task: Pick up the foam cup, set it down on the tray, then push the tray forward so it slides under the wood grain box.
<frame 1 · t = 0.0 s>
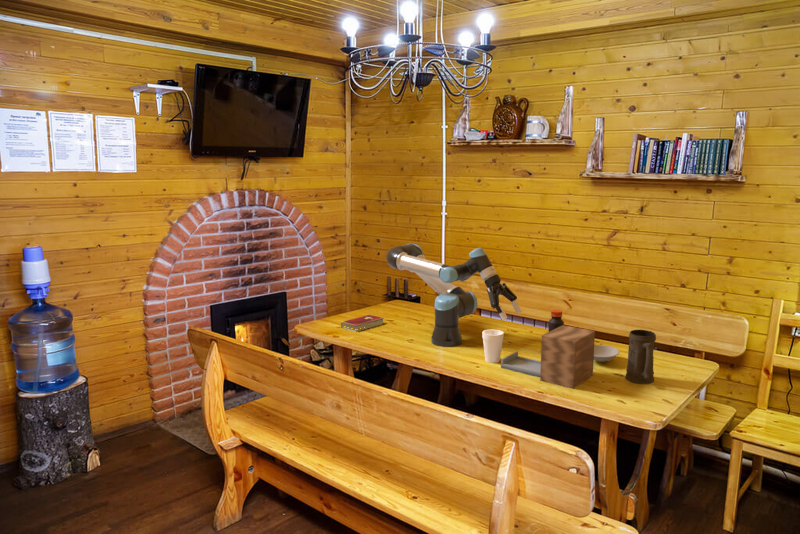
hand: (512, 316, 275), 15 cm above the table, tool tilted 35°, fingers open, 13 cm apart
wood grain box: (566, 377, 236), on the table
hardcover book: (362, 327, 316), on the table
foam cup: (492, 360, 259), on the table
bottle: (555, 353, 268), on the table
beer stein: (642, 381, 232), on the table
dish: (601, 361, 256), on the table
tray: (529, 364, 247), point 2 cm above the table, slide at 0.0 cm
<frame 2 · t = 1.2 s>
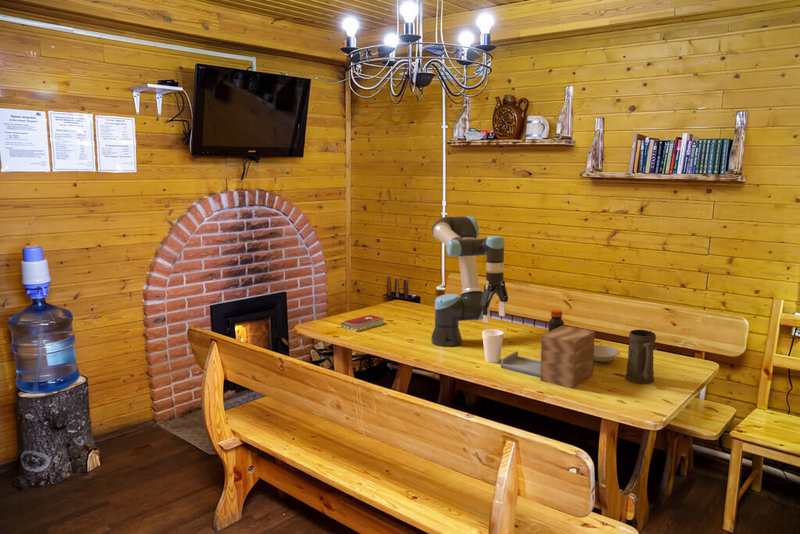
hand: (494, 319, 256), 19 cm above the table, tool pointing down, fingers open, 13 cm apart
nothing on the table moved.
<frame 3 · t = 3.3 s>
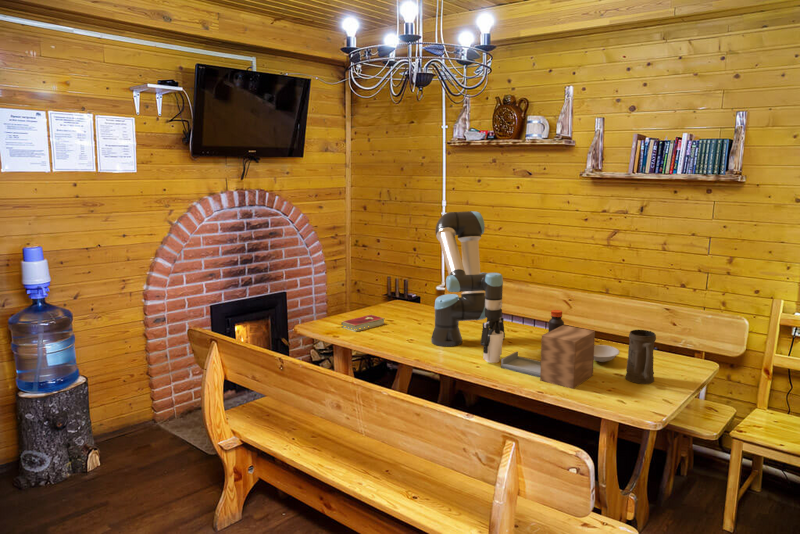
hand: (492, 356, 258), 2 cm above the table, tool pointing down, fingers closed on foam cup, 9 cm apart
foam cup: (492, 360, 259), on the table, touching gripper
everything else where it was.
when the fingers open (4 cm above the table, at t = 8.5 s): foam cup drops 1 cm, resting on tray.
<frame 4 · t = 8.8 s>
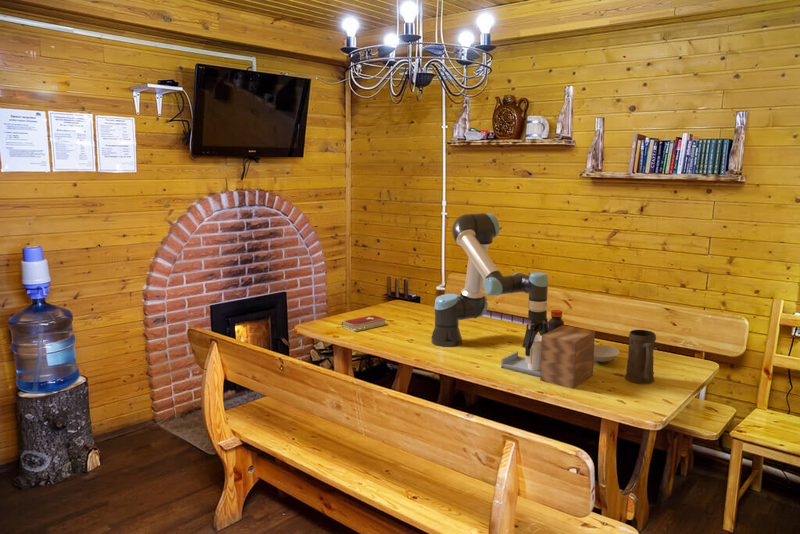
hand: (536, 358, 245), 5 cm above the table, tool pointing down, fingers open, 13 cm apart
foam cup: (535, 368, 245), point 1 cm above the table, touching tray
tray: (529, 364, 247), point 2 cm above the table, slide at 0.1 cm, touching foam cup
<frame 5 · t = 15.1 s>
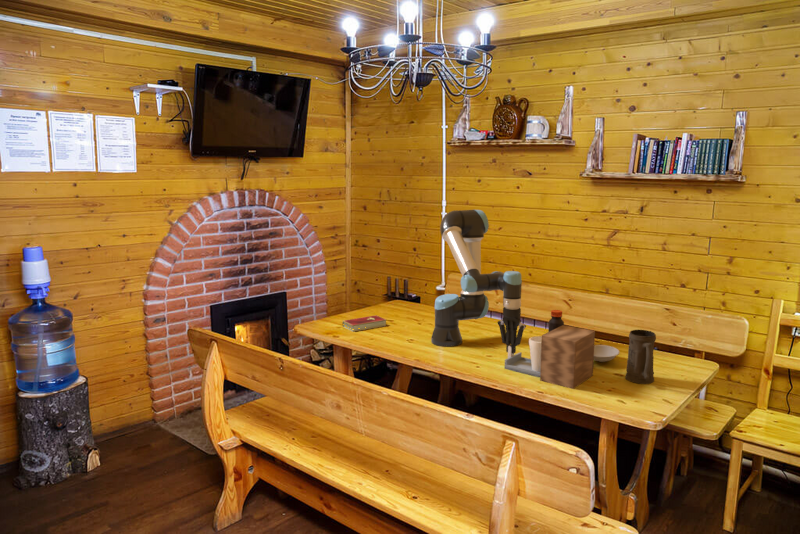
hand: (510, 359, 253), 2 cm above the table, tool pointing down, fingers closed
foam cup: (539, 369, 244), point 1 cm above the table, touching tray
tray: (533, 365, 246), point 2 cm above the table, slide at 1.8 cm, touching foam cup, gripper
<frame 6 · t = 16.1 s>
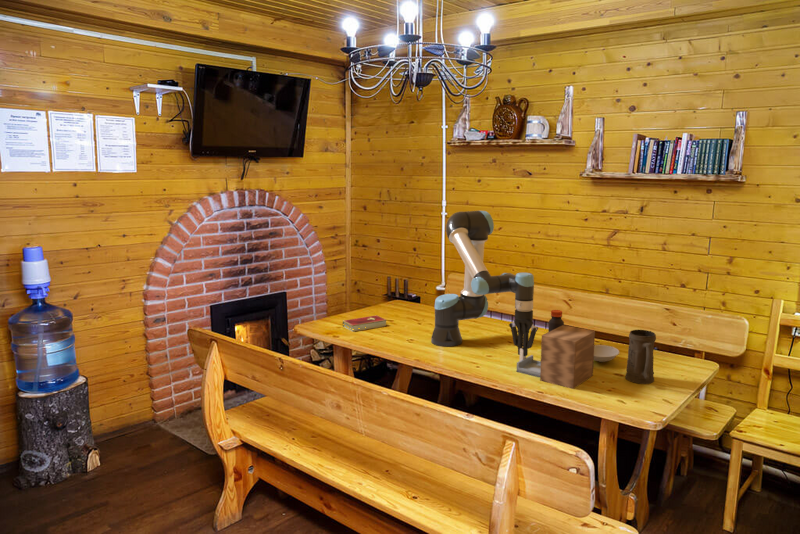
hand: (522, 362, 249), 2 cm above the table, tool pointing down, fingers closed
foam cup: (552, 372, 241), point 1 cm above the table, touching tray
tray: (545, 368, 242), point 2 cm above the table, slide at 7.5 cm, touching foam cup, gripper
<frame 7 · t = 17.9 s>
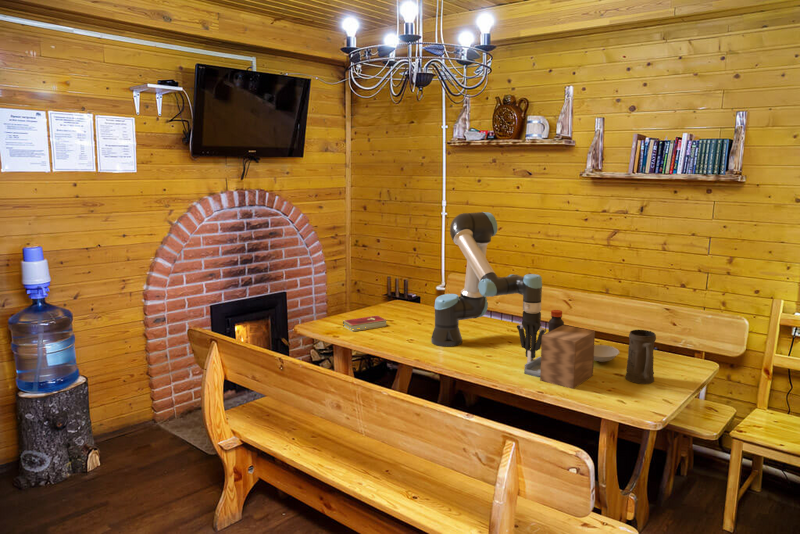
hand: (530, 364, 247), 2 cm above the table, tool pointing down, fingers closed
foam cup: (560, 374, 238), point 1 cm above the table, touching tray
tray: (553, 370, 240), point 2 cm above the table, slide at 11.2 cm, touching foam cup
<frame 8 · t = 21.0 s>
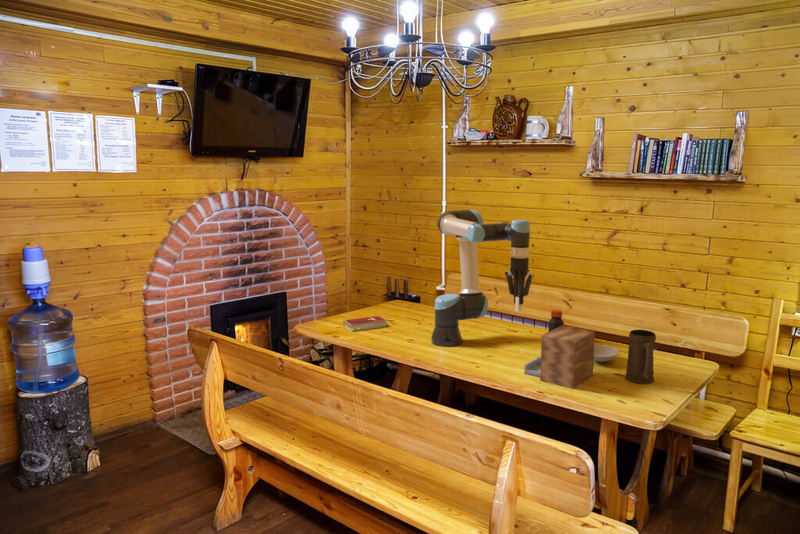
hand: (518, 311, 247), 24 cm above the table, tool pointing down, fingers closed
at the end: foam cup inside the target area (1.8 cm from its centre), point 0.8 cm above the table; foam cup tilted 0°; tray slide at 11.2 cm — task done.
